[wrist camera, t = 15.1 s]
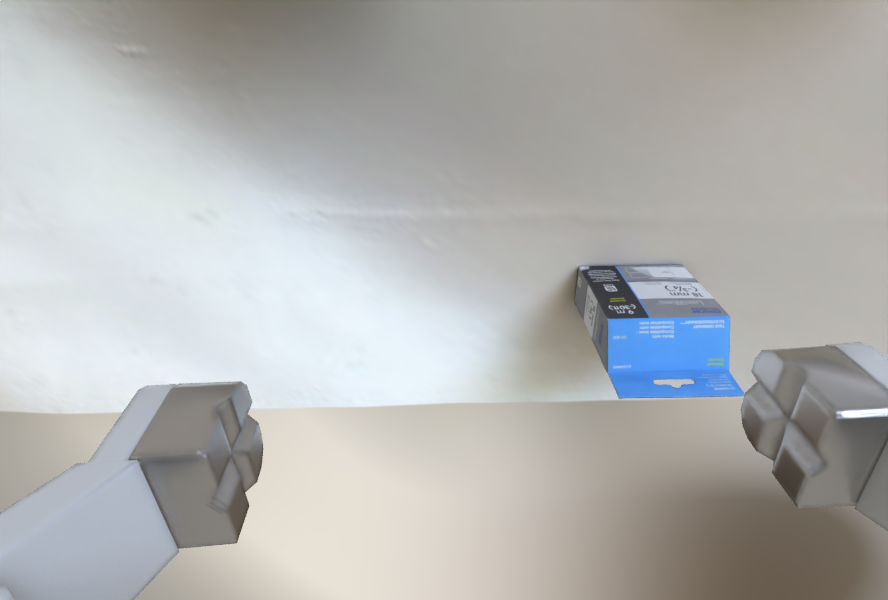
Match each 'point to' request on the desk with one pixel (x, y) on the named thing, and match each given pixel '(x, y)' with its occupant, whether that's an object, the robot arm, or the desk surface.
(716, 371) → the tape cartridge
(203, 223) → the desk surface
